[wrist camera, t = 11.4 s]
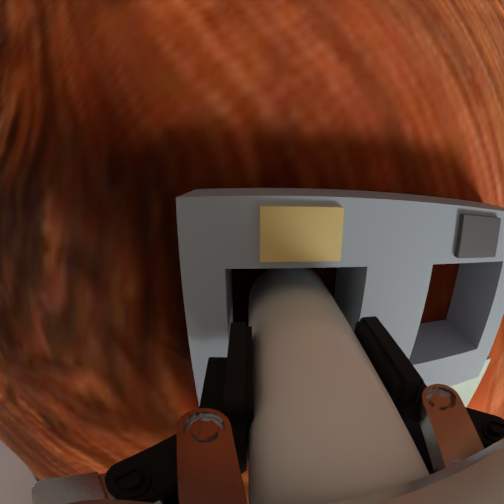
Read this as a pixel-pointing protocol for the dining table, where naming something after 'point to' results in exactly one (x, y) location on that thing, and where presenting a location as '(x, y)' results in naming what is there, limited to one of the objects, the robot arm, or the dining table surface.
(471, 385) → the square base plate
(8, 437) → the dining table surface
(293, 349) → the plug
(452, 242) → the socket block
